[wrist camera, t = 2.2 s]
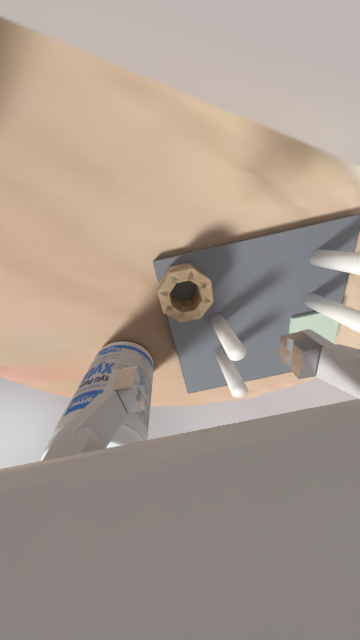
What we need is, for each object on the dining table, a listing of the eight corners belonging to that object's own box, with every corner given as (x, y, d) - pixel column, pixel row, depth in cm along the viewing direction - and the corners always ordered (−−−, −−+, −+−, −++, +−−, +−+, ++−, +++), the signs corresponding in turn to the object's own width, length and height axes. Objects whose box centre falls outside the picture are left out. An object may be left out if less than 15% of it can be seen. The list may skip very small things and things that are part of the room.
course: (153, 260, 22) (146, 275, 14) (353, 214, 22) (469, 202, 13) (187, 388, 33) (194, 439, 25) (321, 360, 32) (374, 402, 24)
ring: (154, 270, 22) (152, 277, 18) (201, 259, 21) (208, 264, 18) (166, 312, 24) (166, 325, 21) (207, 303, 24) (215, 315, 21)
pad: (290, 317, 26) (293, 318, 26) (339, 306, 26) (343, 308, 26) (286, 355, 30) (289, 357, 29) (330, 346, 29) (333, 348, 29)
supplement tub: (113, 328, 26) (61, 422, 13) (165, 355, 29) (165, 454, 16) (86, 369, 29) (22, 479, 16) (135, 390, 32) (115, 497, 19)
